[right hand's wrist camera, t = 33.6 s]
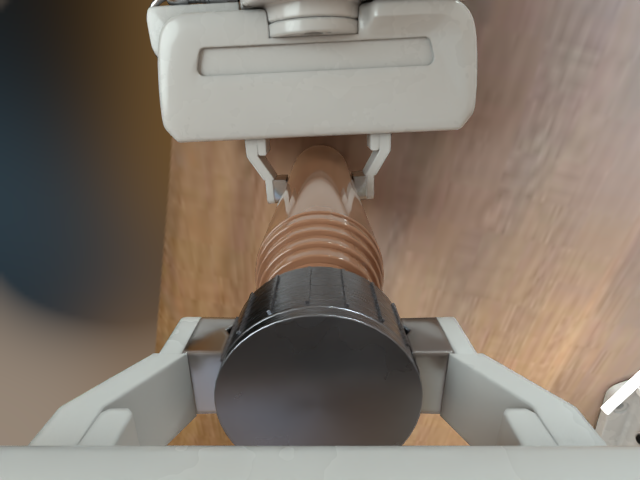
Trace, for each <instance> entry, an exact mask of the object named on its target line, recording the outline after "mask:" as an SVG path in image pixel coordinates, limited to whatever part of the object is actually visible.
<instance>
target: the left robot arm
mask: <svg viewBox="0 0 640 480" xmlns="http://www.w3.org/2000/svg"><path fill="white" fill-rule="evenodd" d="M165 1H167V2H168V4H169V5H172V6H160V5H161V4H162V3H163V2H165ZM206 3H207V4H206ZM147 24H148V30H149V35H150V40H151V45H152V48H153V51H154V53H155V55H156V56H157V58H158V81H159V95H160V105H161V113H162V120H163V125H164V127H165V129H166V130H167V131H168V132H169V134H170V135H171V136H172V137H173V138H174V139H175V140H176V141H178V142H205V141H227V140H245V146H246V155H247V158H248V159H249V161H250V162H251V163H252V165H253V166H254V168H255V169H256V170H257V172H258V173H259V175H260V176H261V177H262V179H263V180H265V181H266V191H267V201H268V203H278V202H279V200H280V197H281V195H282V192H283V190H284V187H285V185H286V182H287V180H288V175H277V173H276V172H275V170H274V169H273V167H272V166H271V164H270V163H269V161H268V160H267V158H266V157H265V155H266V154H267V153H268V152H269V151H270V138H292V137H314V136H336V135H358V134H367V146H368V147H369V148H370V149H371V150H372V151H373V152H372V154H371V155H370V157H369V159H368V161H367V163H366V165H365V167H364V168H363V170H362V171H358V172H352V179H353V182H354V184H355V187H356V189H357V192H358V195H359V197H360V200H361V199H373V198H374V175H376V174H377V173H378V171H379V169H380V168H381V166H382V164H383V163H384V161H385V159H386V158H387V156H388V154H389V153H390V151H391V133H401V132H423V131H445V130H459V129H461V128H462V127H463V126H464V125H465V123H466V122H467V121H468V120H469V118H470V117H471V116H472V114H473V112H474V109H475V101H476V90H477V37H476V28H475V23H474V19H473V17H472V14H471V12H470V11H469V9H468V8H467V7H466V6H465V5H464V4H463V3H462V2H461V1H459V0H153V2H152V3H151V5H150V7H149V9H148V11H147Z"/></svg>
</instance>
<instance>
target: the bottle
mask: <svg viewBox="0 0 640 480" xmlns="http://www.w3.org/2000/svg"><path fill="white" fill-rule="evenodd" d="M308 266H311V267H318V266H321V267H333V268H338V269H345V270H346V271H349V272H352V273H355V274H357V275H359V276H361V277H363V278H365V279H367V280H368V281H370V282H374V283H375V286H377V287H378V288H379V289H380V290H381V291H382V290H383V282H384V270H383V260H382V255H381V252H380V249H379V246H378V244H377V241H376V239H375V236H374V233H373V231H372V228H371V226H370V223H369V220H368V218H367V215H366V213H365V210H364V208H363V205H362V202H361V200H360V197H359V195H358V192H357V189H356V187H355V184H354V182H353V179H352V177H351V174H350V171H349V169H348V166H347V164H346V161H345V159H344V158H343V156H342V155H341V154H340V153H339V152H338V151H337V150H335V149H334V148H332V147H329V146H325V145H316V146H312V147H309V148H307V149H305V150H304V151H303V152H302V153H300V155H299V156H298V157H297V159H296V161H295V163H294V165H293V168H292V170H291V173H290V175H289V178H288V180H287V182H286V185H285V187H284V190H283V192H282V195H281V197H280V200H279V202H278V205H277V207H276V210H275V212H274V214H273V217H272V219H271V222H270V224H269V227H268V229H267V232H266V234H265V237H264V239H263V241H262V244H261V246H260V249H259V252H258V255H257V261H256V269H255V283H256V290H257V289H258V288H260V287H261V286H262V285H263V284H264V283H266V282H267V281H269V280H271V279H272V278H274V277H275V276H276V275H280V274H283V273H285V272H288V271H291V270H295V269H299V268H305V267H308Z"/></svg>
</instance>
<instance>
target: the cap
mask: <svg viewBox="0 0 640 480" xmlns="http://www.w3.org/2000/svg"><path fill="white" fill-rule="evenodd" d="M409 346H410V344H409V342H408V339H407V336H406V333H405V331H404V328H403V325H402V322H401V319H400V317H399V314H398V311H397V308H396V306H395V304H394V303H391V301H390V300H389V298H388V297H387V296H386V295H385V294H384V293H383V292H382V291H381V290H380V289H379V288H378V287H377V286H375V283H374V282H370V281H368V280H367V279H365V278H363V277H361V276H359V275H357V274H355V273H352V272H349V271H346V270H345V269H338V268H333V267H321V266H318V267H311V266H308V267H305V268H299V269H295V270H291V271H288V272H285V273H283V274H280V275H276V276H275V277H274V278H272V279H271V280H269V281H267V282H266V283H264V284H263V285H262V286H261V287H260V288H258V289H257V290H256V291H255V292H254V293H253V292H252V293H251V294H250V296H249V299H248V301H247V302H246V304H245V305H244V307H243V309H242V311H241V313H240V315H239V317H236V319H235V322H234V324H233V327H232V330H231V332H230V335H229V337H228V340H227V343H226V345H225V348H224V350H223V353H222V356H221V358H220V362H222V364H221V366H220V369H219V372H218V375H217V379H216V382H215V390H214V403H215V408H216V413H217V416H218V419H219V422H220V424H221V426H222V428H223V430H224V431H225V433H226V435H227V436H228V437H229V439H230V440H231V441H232V443H233V444H234V445H235V446H402V445H403V444H404V443H405V441H406V440H407V439H408V437H409V436H410V435H411V433H412V431H413V430H414V428H415V426H416V424H417V421H418V419H419V416H420V412H421V408H422V398H423V392H422V383H421V380H420V376H419V375H420V371H419V368H418V366H417V365H416V364H415V361H414V359H413V356H412V353H411V350H410V347H409Z"/></svg>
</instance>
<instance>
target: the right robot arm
mask: <svg viewBox="0 0 640 480" xmlns="http://www.w3.org/2000/svg"><path fill="white" fill-rule="evenodd" d="M235 319H236V318H224V317H184V318H181V319H180V321H179V323H178V324H177V326H176V327H175V329H174V331H173V332H172V334H171V335H170V337H169V339H168V340H167V342H166V343H165V345H164V347H163V348H162V350H161V351H160V353H159V354H152V355H150V356H148V357H147V358H145V359H143V360H141V361H140V362H138V363H136V364H134V365H133V366H131V367H129V368H127V369H126V370H124V371H122V372H120V373H119V374H117V375H115V376H113V377H112V378H110V379H108V380H106V381H105V382H103V383H101V384H99V385H98V386H96V387H94V388H92V389H91V390H89V391H87V392H85V393H83V394H82V395H80V396H78V397H77V398H75V399H73V400H71V401H69V402H68V403H66V404H64V405H63V406H61V407H60V408H59V409H58V410H57V411H56V412H55V414H54V415H53V416H52V417H51V418H50V420H49V421H48V422H47V423H46V424H45V426H44V427H43V428H42V429H41V430H40V432H39V433H38V434H37V435H36V436H35V437H34V439H33V440H32V441H31V442H30V443H29V445H28V446H0V480H640V371H639V372H638V373H637V374H636V375H635V376H633V377H632V378H631V379H630V380H627V381H624V382H621V383H618V384H616V385H614V386H612V387H610V388H609V389H608V390H607V392H606V394H605V397H604V401H603V404H602V407H601V411H600V415H599V418H598V422H597V425H596V429H595V430H594V429H593V427H592V426H591V425H590V424H589V422H588V421H587V420H586V419H585V418H584V416H583V415H582V414H581V413H580V411H579V410H578V409H577V408H576V407H575V406H573V405H571V404H569V403H568V402H566V401H564V400H563V399H561V398H559V397H557V396H556V395H554V394H552V393H550V392H549V391H547V390H545V389H543V388H542V387H540V386H538V385H537V384H535V383H533V382H531V381H530V380H528V379H526V378H524V377H523V376H521V375H519V374H517V373H516V372H514V371H512V370H511V369H509V368H507V367H505V366H504V365H502V364H500V363H498V362H497V361H495V360H493V359H491V358H490V357H488V356H486V355H485V354H477V352H476V351H475V349H474V347H473V346H472V344H471V343H470V341H469V339H468V338H467V336H466V335H465V333H464V331H463V330H462V328H461V326H460V325H459V323H458V322H457V320H456V318H454V317H434V318H400V319H401V322H402V325H403V328H404V331H405V333H406V336H407V339H408V342H409V344H410V346H409V347H410V350H411V353H412V356H413V359H414V361H415V364H416V365H417V366H418V368H419V371H420V375H419V376H420V380H421V383H422V392H423V398H422V408H421V412H420V413H428V414H440V416H441V417H442V418H443V419H444V420H445V421H446V422H447V423H448V424H449V425H450V426H451V427H452V428H453V429H454V430H455V431H456V432H457V433H458V434H459V435H460V436H461V437H462V438H463V439H464V440H465V441H466V442H467V443H468V444H469V445H470V446H166V445H167V444H168V443H169V442H170V441H171V440H172V439H173V438H174V437H175V436H176V435H177V434H178V433H179V432H181V431H182V430H183V429H184V428H185V427H186V426H187V425H188V424H189V423H190V422H191V421H192V420H193V419H194V418H195V417H196V414H209V413H216V408H215V403H214V390H215V382H216V379H217V375H218V372H219V369H220V366H221V364H222V362H220V358H221V356H222V353H223V350H224V348H225V345H226V343H227V340H228V337H229V335H230V332H231V330H232V327H233V324H234V322H235Z"/></svg>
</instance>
